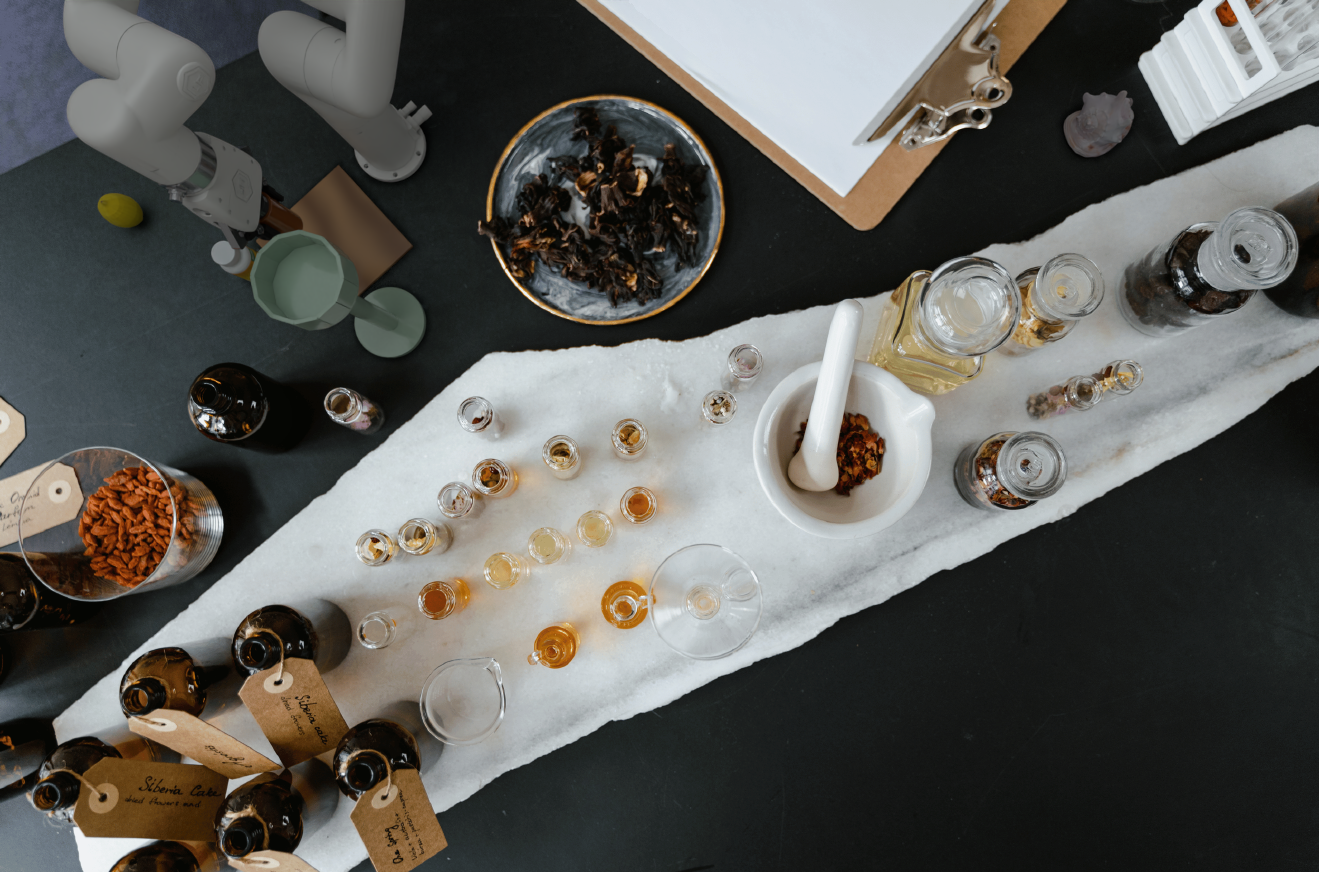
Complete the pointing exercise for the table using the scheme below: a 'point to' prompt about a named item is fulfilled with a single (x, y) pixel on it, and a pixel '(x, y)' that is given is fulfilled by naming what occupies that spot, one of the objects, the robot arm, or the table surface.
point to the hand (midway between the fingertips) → (272, 216)
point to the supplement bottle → (234, 259)
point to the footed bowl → (332, 294)
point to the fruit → (120, 210)
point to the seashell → (1099, 123)
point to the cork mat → (351, 226)
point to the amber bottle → (278, 215)
